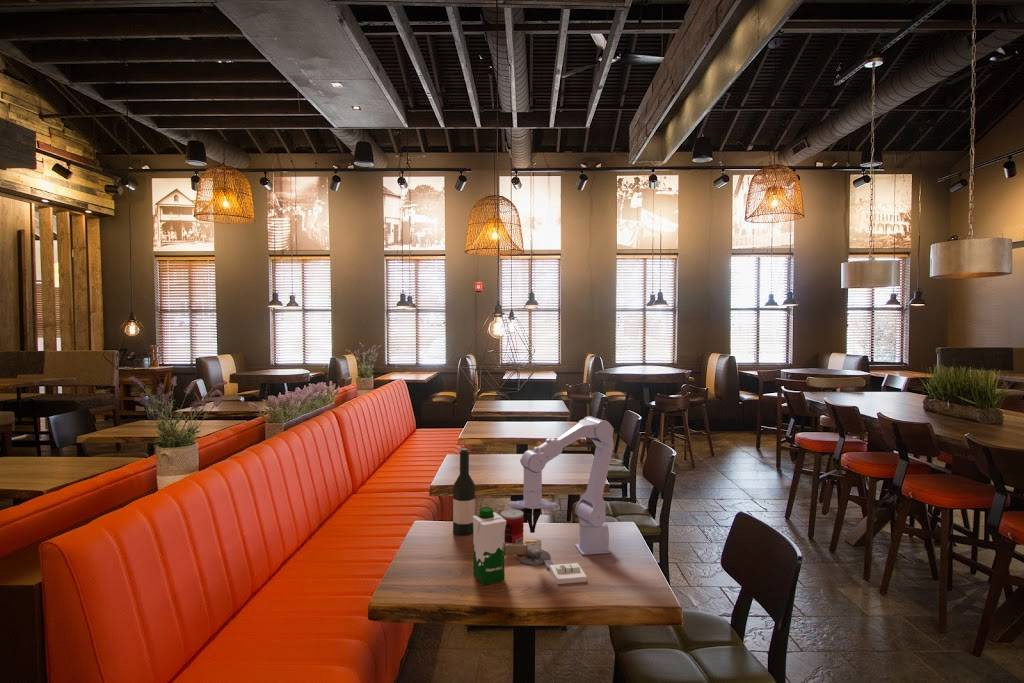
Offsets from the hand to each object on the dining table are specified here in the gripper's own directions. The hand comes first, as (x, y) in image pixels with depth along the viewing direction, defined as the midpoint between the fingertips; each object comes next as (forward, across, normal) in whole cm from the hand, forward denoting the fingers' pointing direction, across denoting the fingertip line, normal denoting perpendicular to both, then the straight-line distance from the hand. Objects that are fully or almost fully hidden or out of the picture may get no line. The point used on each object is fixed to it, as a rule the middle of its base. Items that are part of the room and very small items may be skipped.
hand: (532, 531), depth 173 cm
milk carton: (+10, +12, +12) cm, 20 cm away
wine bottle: (+10, +26, -22) cm, 35 cm away
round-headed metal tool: (+9, +4, -2) cm, 10 cm away
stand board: (+10, -11, +8) cm, 17 cm away
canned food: (+10, +7, -12) cm, 17 cm away
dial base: (+10, -1, -1) cm, 10 cm away
